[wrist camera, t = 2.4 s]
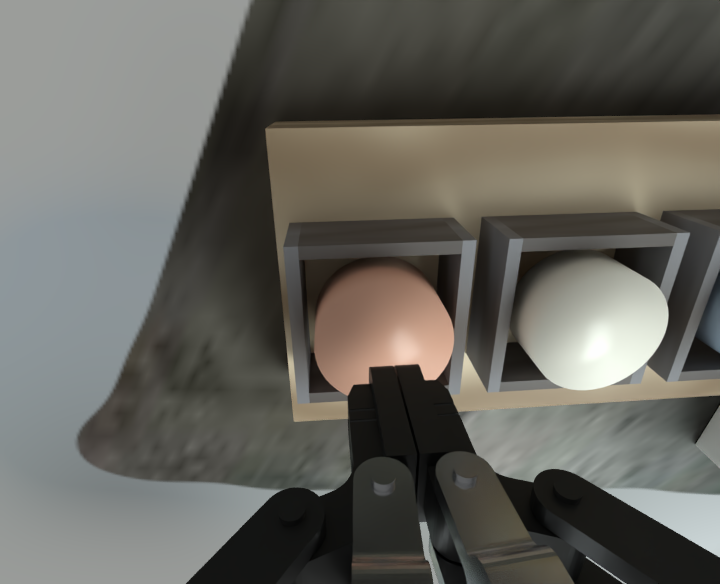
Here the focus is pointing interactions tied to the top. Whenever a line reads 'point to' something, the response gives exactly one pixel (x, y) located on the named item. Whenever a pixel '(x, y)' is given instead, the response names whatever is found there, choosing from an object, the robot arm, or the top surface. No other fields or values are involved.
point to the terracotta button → (379, 322)
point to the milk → (711, 439)
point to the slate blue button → (711, 319)
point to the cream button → (587, 319)
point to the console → (500, 235)
